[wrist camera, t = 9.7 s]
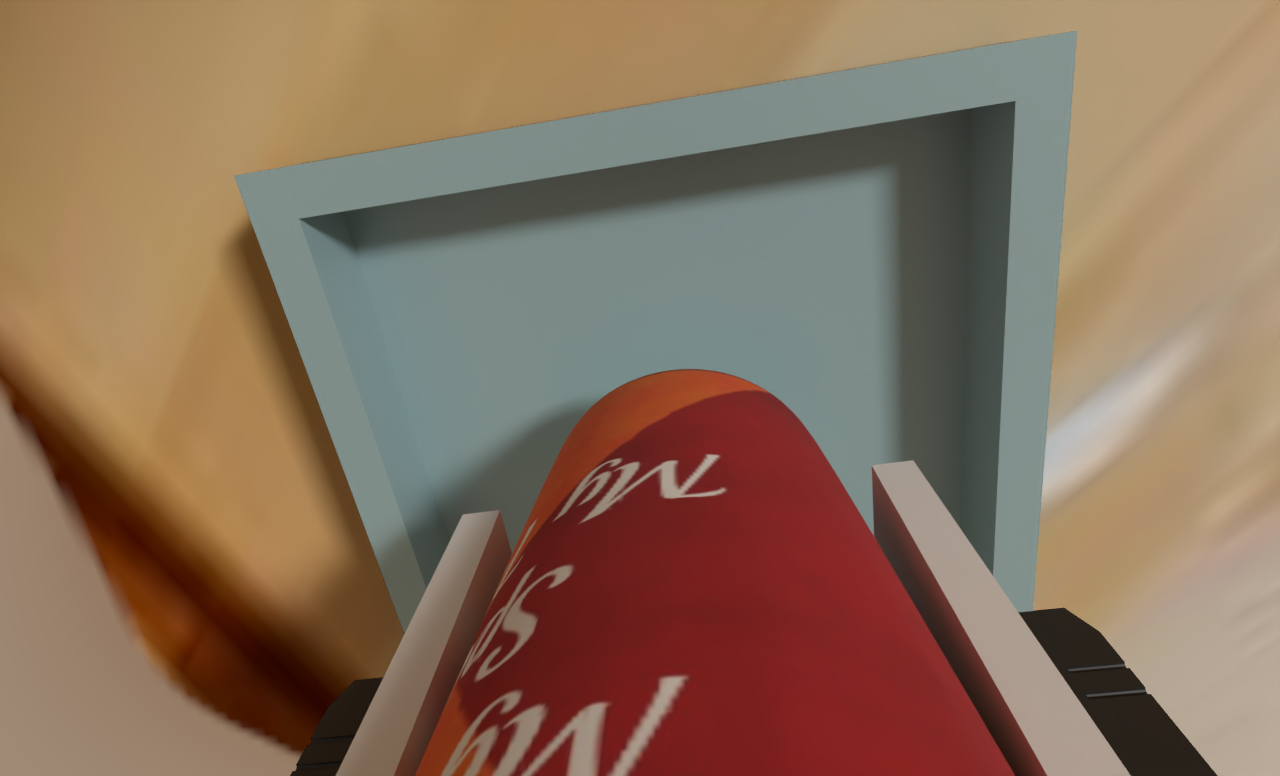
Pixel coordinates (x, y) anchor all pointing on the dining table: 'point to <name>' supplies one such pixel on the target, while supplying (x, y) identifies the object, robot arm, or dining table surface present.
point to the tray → (694, 288)
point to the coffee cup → (702, 613)
